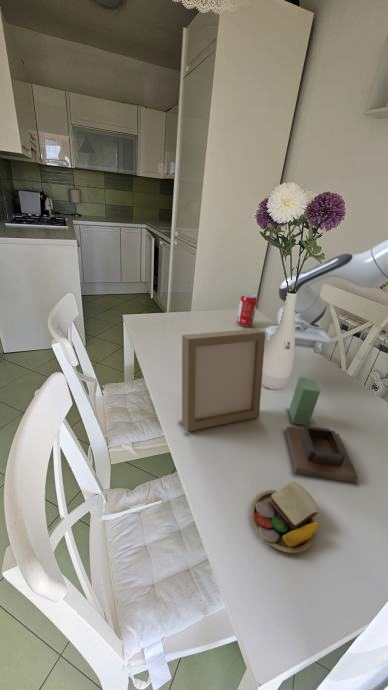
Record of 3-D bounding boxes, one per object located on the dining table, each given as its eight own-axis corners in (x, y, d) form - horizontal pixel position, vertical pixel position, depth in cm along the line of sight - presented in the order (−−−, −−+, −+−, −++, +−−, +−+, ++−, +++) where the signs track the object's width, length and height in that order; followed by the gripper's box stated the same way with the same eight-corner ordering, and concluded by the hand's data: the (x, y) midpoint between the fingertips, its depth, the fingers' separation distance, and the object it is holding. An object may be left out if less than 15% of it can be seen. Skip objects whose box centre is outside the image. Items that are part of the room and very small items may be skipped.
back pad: (303, 411, 92) (314, 379, 87) (308, 425, 87) (320, 391, 81) (288, 409, 92) (299, 376, 87) (292, 423, 87) (303, 389, 82)
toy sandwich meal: (237, 503, 63) (241, 488, 61) (290, 486, 68) (295, 471, 66) (273, 566, 53) (279, 551, 51) (331, 540, 58) (339, 525, 56)
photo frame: (258, 419, 87) (277, 341, 76) (187, 434, 79) (197, 350, 68) (234, 389, 99) (247, 318, 88) (170, 399, 91) (176, 323, 80)
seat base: (336, 439, 83) (342, 425, 81) (355, 482, 71) (363, 467, 68) (285, 431, 84) (289, 417, 81) (295, 473, 71) (300, 458, 69)
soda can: (232, 323, 149) (237, 293, 142) (243, 319, 154) (248, 291, 147) (245, 328, 144) (251, 298, 137) (255, 325, 149) (261, 296, 142)
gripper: (266, 318, 105) (271, 335, 93) (326, 326, 104) (339, 344, 92) (262, 334, 108) (267, 353, 96) (320, 342, 107) (332, 362, 95)
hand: (303, 349), depth 94 cm, fingers open, 8 cm apart
